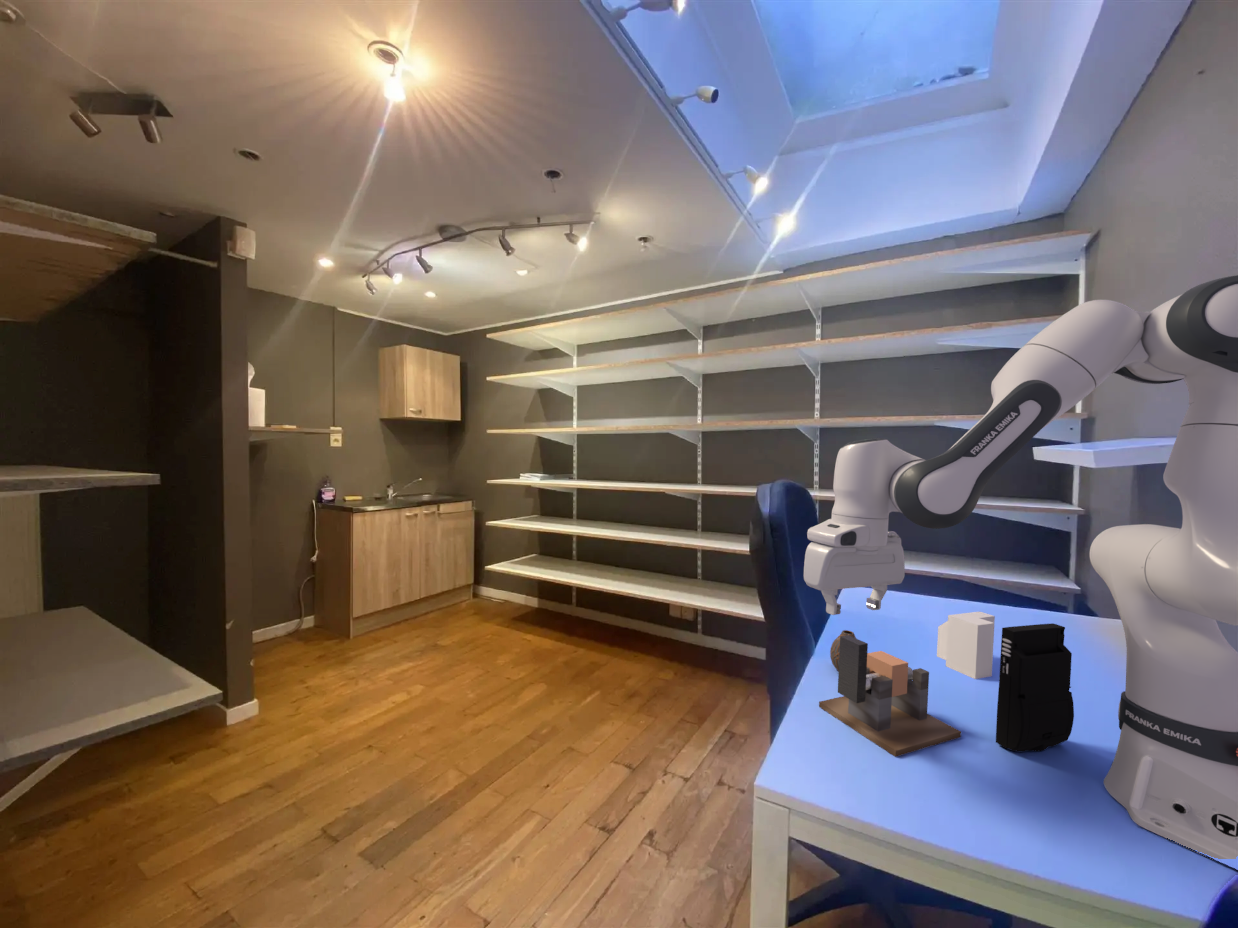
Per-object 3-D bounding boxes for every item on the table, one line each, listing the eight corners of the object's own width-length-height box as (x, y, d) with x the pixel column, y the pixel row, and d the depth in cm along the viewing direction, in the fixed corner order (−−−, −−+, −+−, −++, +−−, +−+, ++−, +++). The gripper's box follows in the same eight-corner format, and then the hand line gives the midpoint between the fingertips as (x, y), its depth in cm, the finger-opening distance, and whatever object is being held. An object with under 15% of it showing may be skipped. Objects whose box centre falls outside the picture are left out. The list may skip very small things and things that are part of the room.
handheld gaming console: (1044, 734, 85) (1050, 621, 84) (1074, 750, 80) (1081, 631, 80) (991, 743, 82) (997, 626, 81) (1020, 760, 77) (1026, 636, 77)
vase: (831, 674, 106) (833, 635, 105) (827, 661, 112) (829, 624, 112) (866, 680, 104) (868, 639, 103) (860, 666, 110) (862, 628, 110)
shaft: (918, 689, 88) (921, 634, 87) (856, 703, 82) (859, 644, 81) (898, 679, 91) (900, 626, 91) (837, 692, 85) (840, 636, 85)
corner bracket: (975, 679, 106) (977, 625, 105) (926, 657, 116) (929, 608, 116) (1007, 673, 109) (1010, 620, 109) (957, 653, 120) (960, 605, 120)
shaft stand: (960, 737, 83) (963, 682, 83) (895, 756, 77) (898, 698, 77) (879, 693, 98) (881, 646, 98) (819, 706, 92) (821, 657, 92)
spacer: (906, 693, 85) (908, 662, 85) (890, 697, 84) (892, 665, 84) (880, 679, 90) (881, 650, 90) (864, 682, 89) (865, 653, 89)
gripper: (885, 527, 90) (880, 601, 90) (799, 530, 82) (795, 610, 83) (917, 533, 84) (912, 612, 85) (828, 536, 76) (823, 623, 77)
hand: (853, 611), depth 84 cm, fingers open, 8 cm apart
